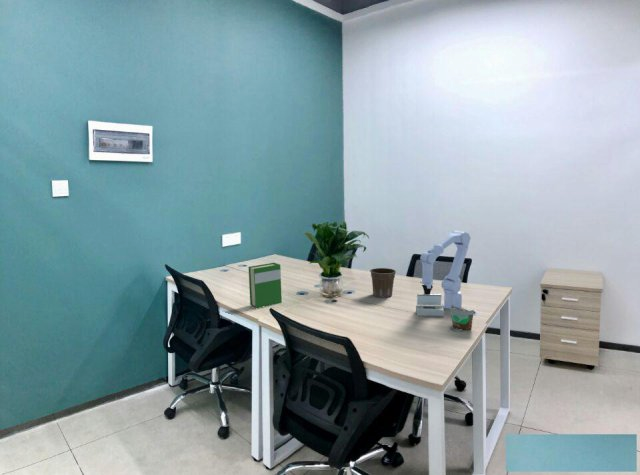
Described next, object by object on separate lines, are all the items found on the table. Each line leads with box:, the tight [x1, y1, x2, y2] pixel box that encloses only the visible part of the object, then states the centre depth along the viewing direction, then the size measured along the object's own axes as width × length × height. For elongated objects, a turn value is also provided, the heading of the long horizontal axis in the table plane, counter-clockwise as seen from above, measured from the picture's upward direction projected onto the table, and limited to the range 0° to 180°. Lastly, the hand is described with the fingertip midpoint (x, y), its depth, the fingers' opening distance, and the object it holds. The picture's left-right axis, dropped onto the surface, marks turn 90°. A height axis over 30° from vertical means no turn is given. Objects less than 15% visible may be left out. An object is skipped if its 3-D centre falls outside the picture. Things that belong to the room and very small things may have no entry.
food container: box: [449, 305, 475, 331], centre depth 203 cm, size 12×6×10 cm, turn 40°
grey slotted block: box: [415, 304, 445, 317], centre depth 226 cm, size 14×8×4 cm, turn 83°
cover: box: [416, 293, 443, 306], centre depth 228 cm, size 13×7×1 cm
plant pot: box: [369, 267, 397, 298], centre depth 262 cm, size 16×16×16 cm
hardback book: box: [248, 262, 282, 309], centre depth 248 cm, size 18×7×24 cm, turn 127°
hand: (427, 297), depth 228 cm, fingers closed, pressing on cover
